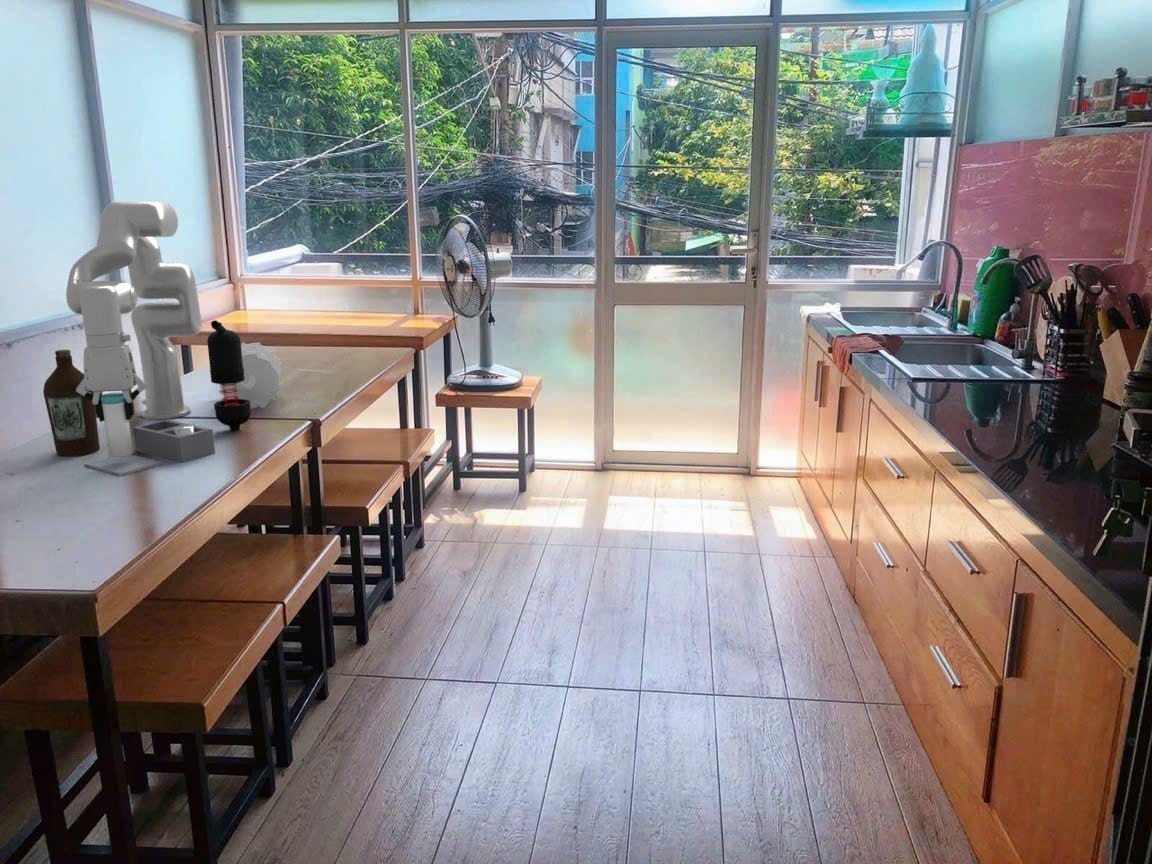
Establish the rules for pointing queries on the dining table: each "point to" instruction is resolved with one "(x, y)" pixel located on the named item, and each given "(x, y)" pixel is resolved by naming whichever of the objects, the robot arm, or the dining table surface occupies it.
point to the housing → (173, 441)
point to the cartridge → (116, 425)
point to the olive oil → (70, 410)
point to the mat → (122, 464)
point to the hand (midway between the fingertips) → (116, 418)
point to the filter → (227, 375)
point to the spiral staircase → (257, 376)
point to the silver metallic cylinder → (183, 430)
